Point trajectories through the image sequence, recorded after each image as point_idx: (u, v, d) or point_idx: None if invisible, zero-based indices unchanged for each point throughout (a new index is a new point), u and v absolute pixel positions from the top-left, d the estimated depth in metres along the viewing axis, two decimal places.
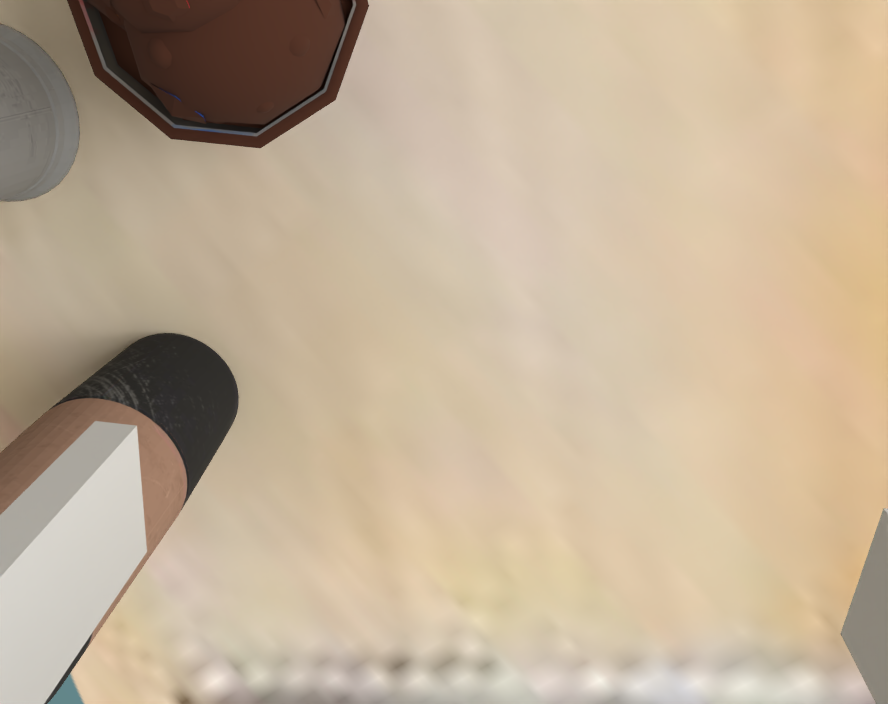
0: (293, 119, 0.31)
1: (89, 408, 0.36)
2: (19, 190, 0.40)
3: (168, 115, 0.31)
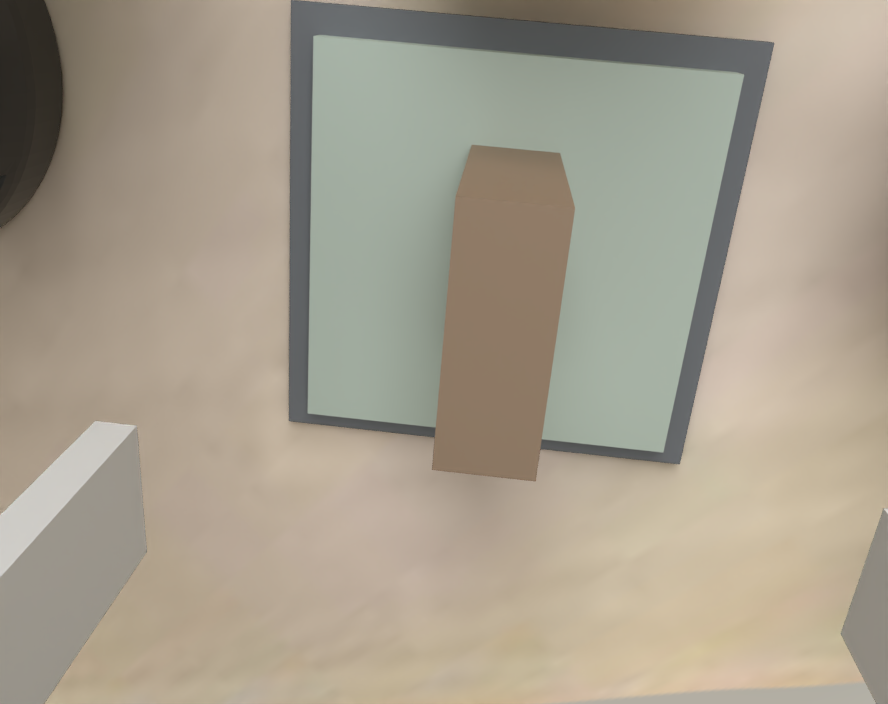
0: None
1: None
2: None
3: None
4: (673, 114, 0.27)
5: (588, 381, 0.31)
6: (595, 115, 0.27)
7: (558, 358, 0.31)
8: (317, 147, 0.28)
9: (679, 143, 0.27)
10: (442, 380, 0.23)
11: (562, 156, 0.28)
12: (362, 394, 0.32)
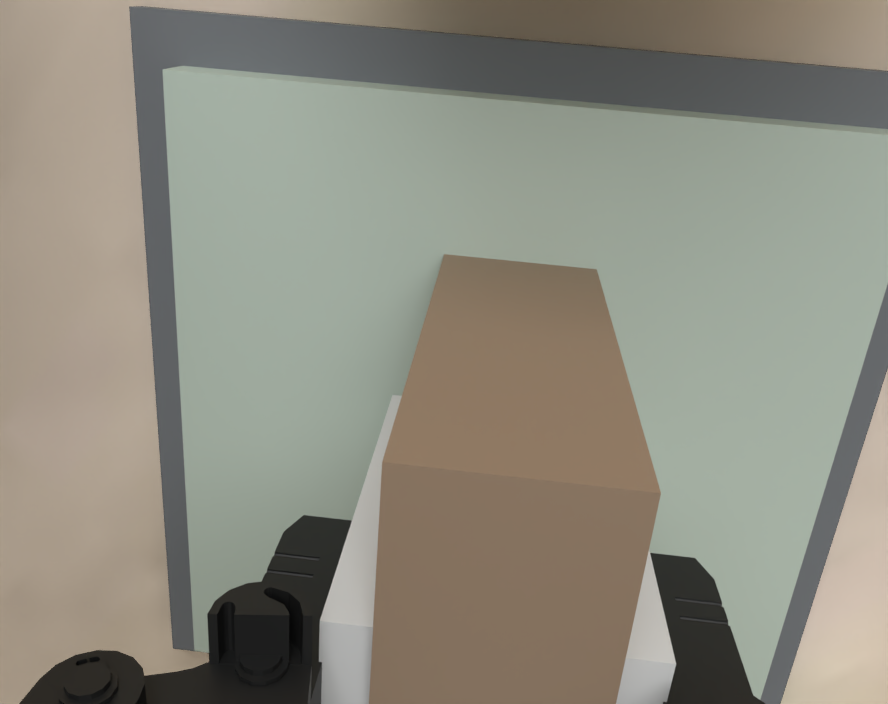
0: None
1: None
2: None
3: None
4: (798, 206, 0.15)
5: None
6: (660, 207, 0.16)
7: None
8: (182, 256, 0.17)
9: (807, 255, 0.16)
10: None
11: (600, 275, 0.16)
12: None
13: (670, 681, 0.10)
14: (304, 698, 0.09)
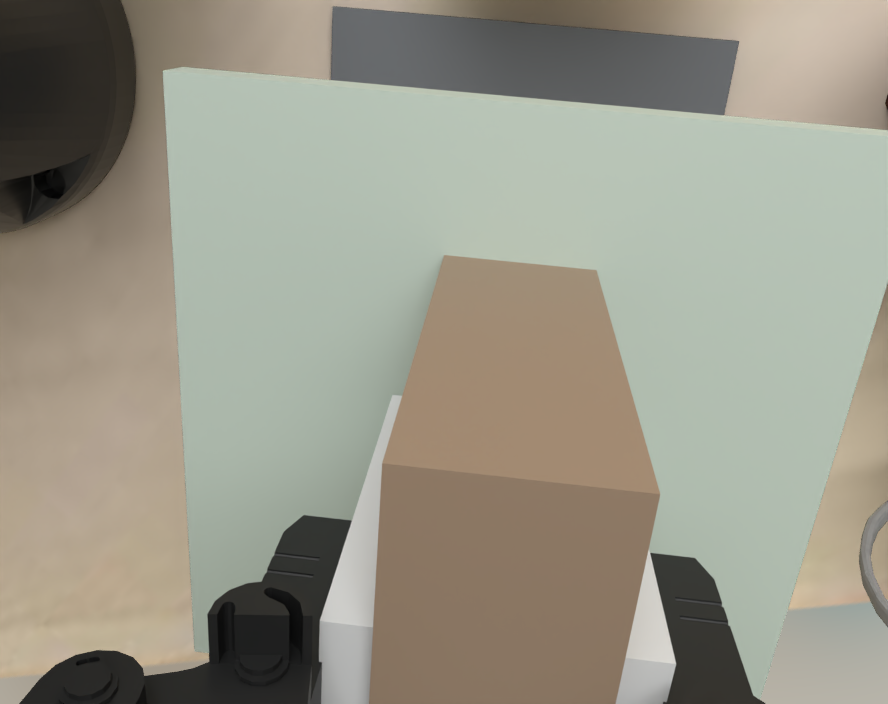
0: None
1: None
2: None
3: None
4: (798, 207, 0.15)
5: None
6: (660, 208, 0.16)
7: None
8: (182, 257, 0.17)
9: (806, 255, 0.16)
10: None
11: (600, 276, 0.16)
12: None
13: (670, 681, 0.10)
14: (304, 698, 0.09)
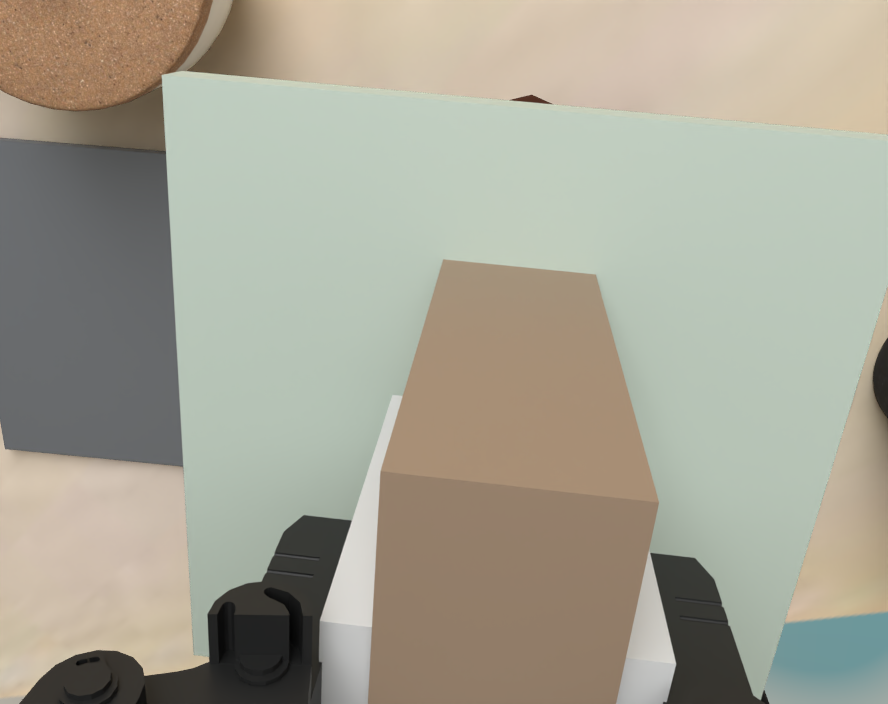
0: None
1: None
2: None
3: None
4: (798, 212, 0.15)
5: None
6: (659, 212, 0.16)
7: None
8: (181, 261, 0.17)
9: (806, 259, 0.16)
10: None
11: (599, 280, 0.16)
12: None
13: (670, 681, 0.10)
14: (304, 698, 0.09)
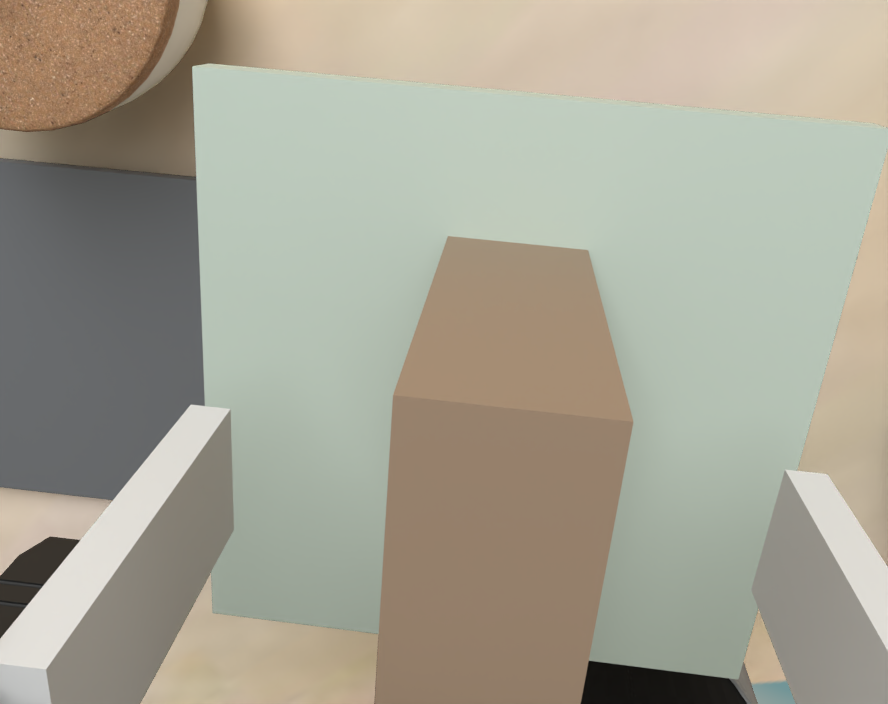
0: None
1: None
2: None
3: None
4: (772, 192, 0.17)
5: (627, 580, 0.21)
6: (646, 192, 0.17)
7: None
8: (207, 238, 0.18)
9: (781, 236, 0.17)
10: None
11: (591, 255, 0.18)
12: (291, 590, 0.22)
13: None
14: None
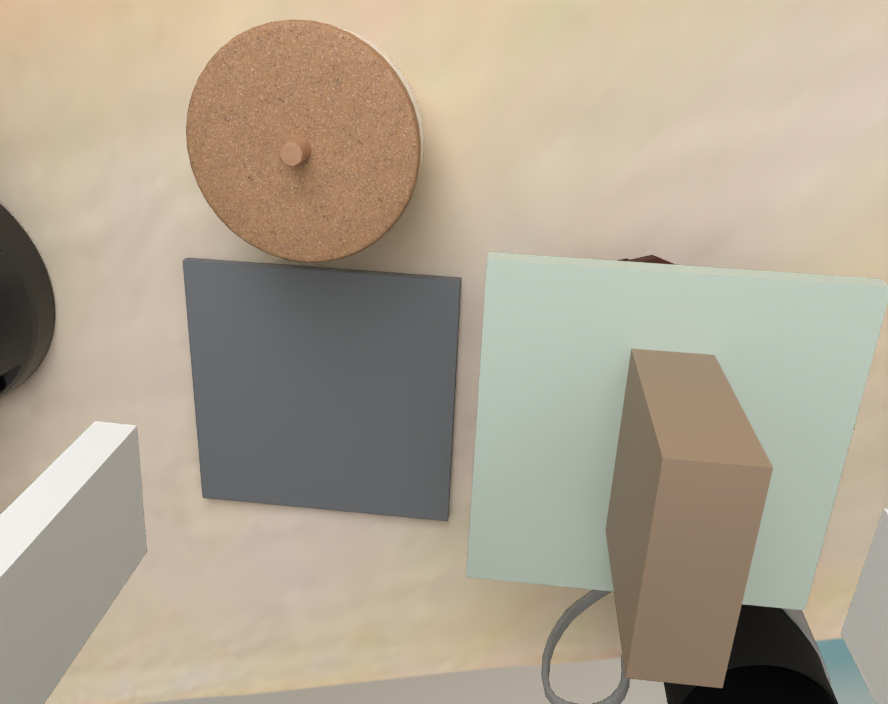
0: None
1: None
2: None
3: None
4: (823, 321, 0.29)
5: None
6: (749, 323, 0.29)
7: None
8: (486, 352, 0.31)
9: (828, 345, 0.30)
10: (640, 605, 0.25)
11: (716, 357, 0.30)
12: (518, 561, 0.34)
13: None
14: None
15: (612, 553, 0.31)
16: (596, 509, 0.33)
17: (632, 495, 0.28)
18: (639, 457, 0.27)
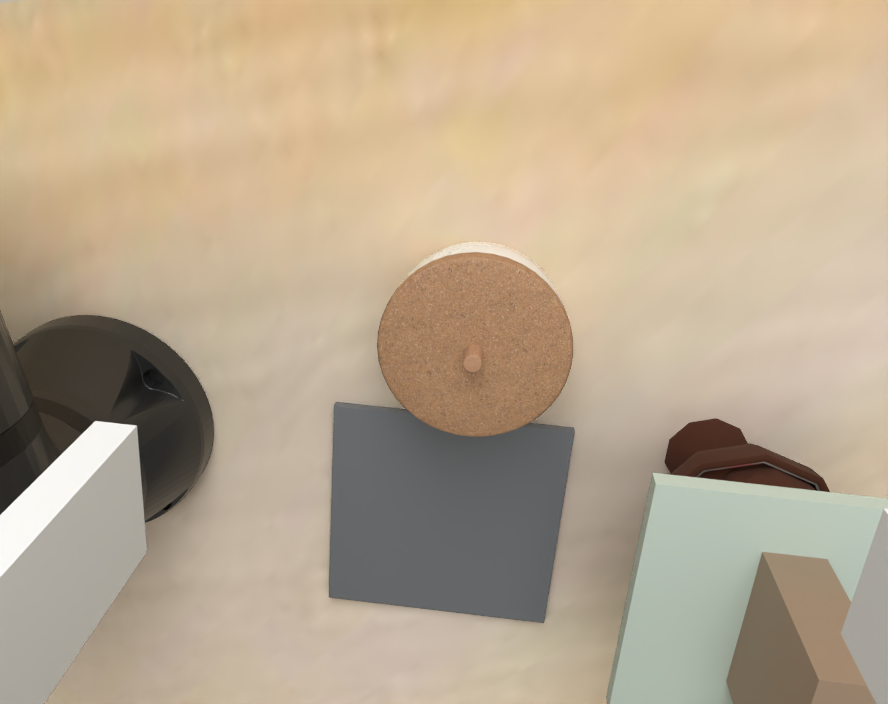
0: None
1: None
2: None
3: None
4: None
5: None
6: (856, 537, 0.38)
7: None
8: (646, 549, 0.39)
9: None
10: None
11: (828, 561, 0.39)
12: (652, 701, 0.43)
13: None
14: None
15: None
16: (720, 665, 0.42)
17: (771, 679, 0.36)
18: (781, 655, 0.35)
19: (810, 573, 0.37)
